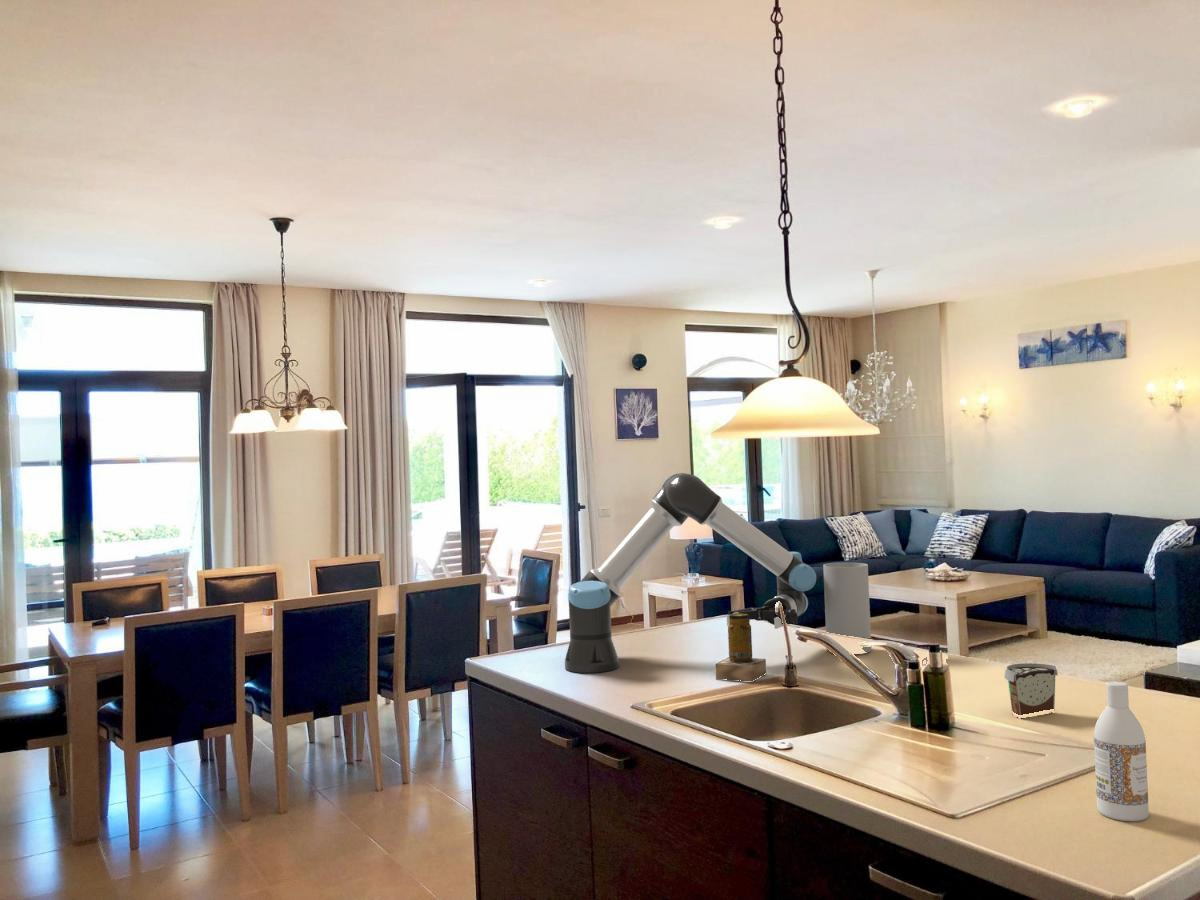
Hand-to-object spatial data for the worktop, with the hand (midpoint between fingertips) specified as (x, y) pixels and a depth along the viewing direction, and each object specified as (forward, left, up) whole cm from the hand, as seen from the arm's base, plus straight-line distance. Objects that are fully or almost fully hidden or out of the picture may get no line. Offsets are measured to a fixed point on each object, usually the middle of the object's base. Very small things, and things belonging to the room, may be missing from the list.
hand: (751, 622), depth 251 cm
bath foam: (+88, -73, -13) cm, 115 cm away
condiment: (0, -8, -9) cm, 12 cm away
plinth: (0, -8, -13) cm, 15 cm away
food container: (+69, -18, -13) cm, 72 cm away
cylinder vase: (+17, +33, -13) cm, 39 cm away
